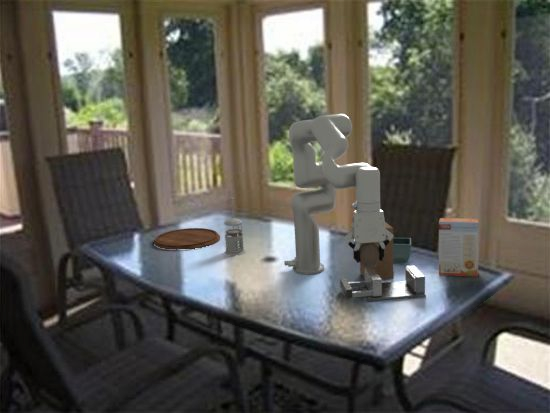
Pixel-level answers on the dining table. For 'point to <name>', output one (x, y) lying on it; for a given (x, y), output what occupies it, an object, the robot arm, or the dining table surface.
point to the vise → (402, 287)
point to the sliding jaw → (370, 281)
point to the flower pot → (401, 250)
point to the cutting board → (187, 238)
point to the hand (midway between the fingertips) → (368, 260)
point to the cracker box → (458, 247)
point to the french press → (234, 237)
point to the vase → (369, 254)
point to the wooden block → (384, 260)
